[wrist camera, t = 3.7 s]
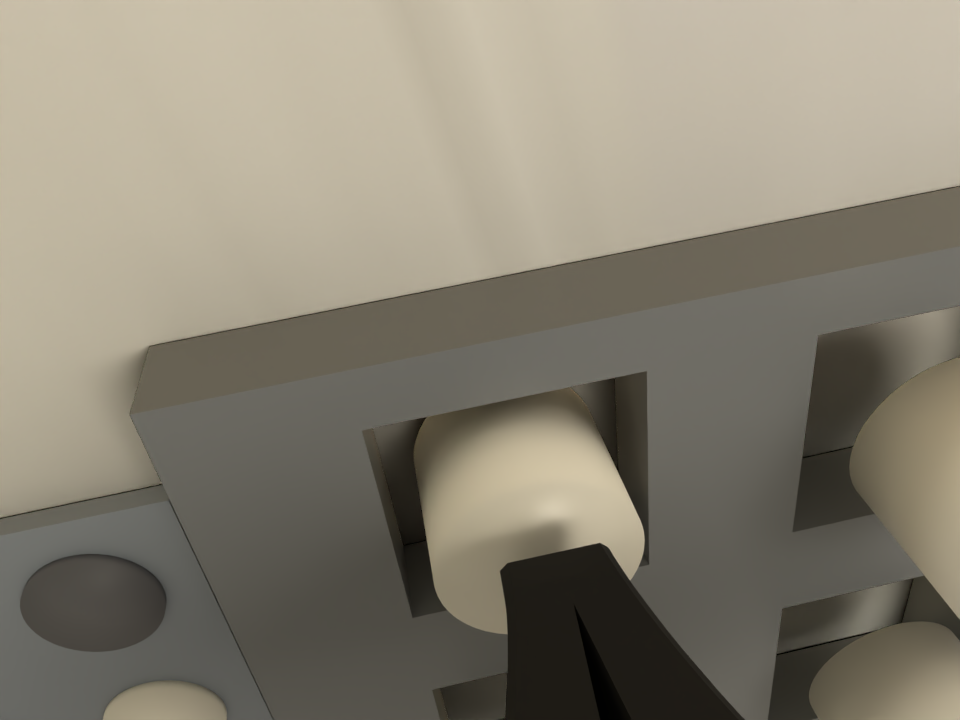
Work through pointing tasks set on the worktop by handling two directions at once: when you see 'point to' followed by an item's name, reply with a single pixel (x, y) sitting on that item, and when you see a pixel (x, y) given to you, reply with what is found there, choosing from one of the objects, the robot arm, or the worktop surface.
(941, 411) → the button
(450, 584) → the button
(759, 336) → the button board
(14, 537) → the card
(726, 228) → the worktop surface
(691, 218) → the worktop surface
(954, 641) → the button
